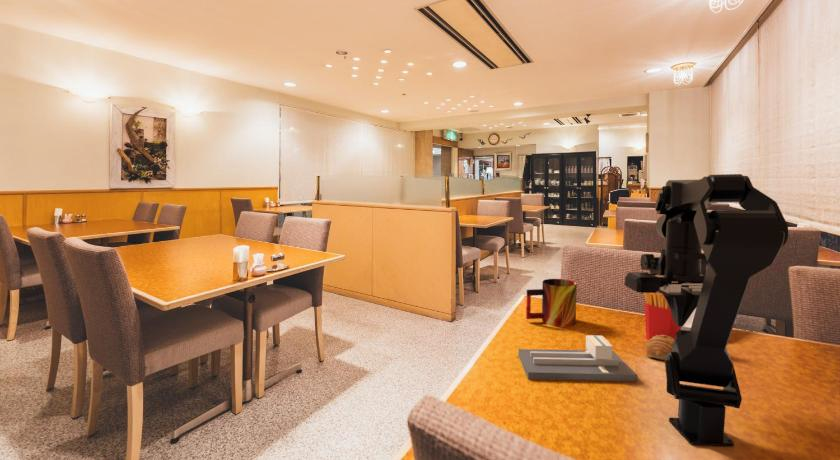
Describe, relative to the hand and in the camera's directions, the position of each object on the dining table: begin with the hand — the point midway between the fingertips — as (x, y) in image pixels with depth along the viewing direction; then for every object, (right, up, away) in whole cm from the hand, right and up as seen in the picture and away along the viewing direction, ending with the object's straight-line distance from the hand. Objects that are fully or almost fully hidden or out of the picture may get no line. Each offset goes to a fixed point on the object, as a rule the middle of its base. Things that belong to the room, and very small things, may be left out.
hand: (679, 325), depth 75 cm
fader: (-11, -10, +11) cm, 18 cm away
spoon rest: (+30, -10, +34) cm, 47 cm away
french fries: (+12, -11, +25) cm, 30 cm away
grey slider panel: (-16, -12, +12) cm, 23 cm away
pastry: (+8, -12, +18) cm, 23 cm away
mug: (-10, -9, +41) cm, 43 cm away
